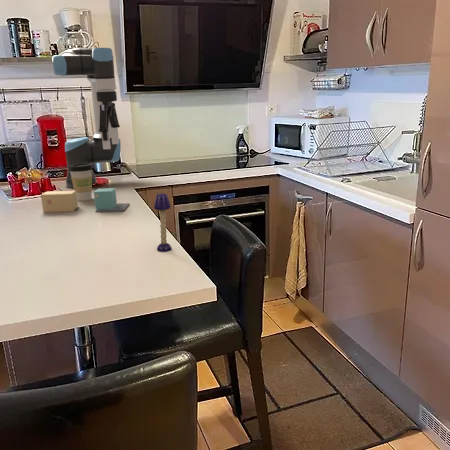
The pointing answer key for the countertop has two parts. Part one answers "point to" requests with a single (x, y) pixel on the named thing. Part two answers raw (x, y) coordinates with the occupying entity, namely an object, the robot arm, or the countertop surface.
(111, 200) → the teal cube
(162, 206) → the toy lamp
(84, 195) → the coffee cup
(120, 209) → the pad
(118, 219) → the countertop surface
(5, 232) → the countertop surface
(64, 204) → the tan cardboard box
